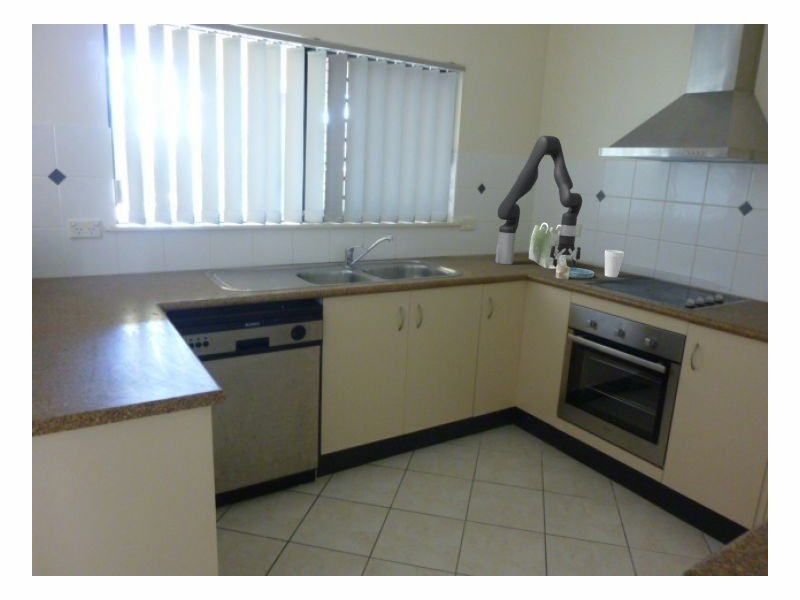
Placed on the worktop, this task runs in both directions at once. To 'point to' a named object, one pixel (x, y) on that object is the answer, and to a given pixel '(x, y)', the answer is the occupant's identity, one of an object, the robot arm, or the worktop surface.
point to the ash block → (562, 272)
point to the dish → (580, 273)
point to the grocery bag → (545, 246)
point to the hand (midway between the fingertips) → (563, 267)
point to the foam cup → (613, 262)
